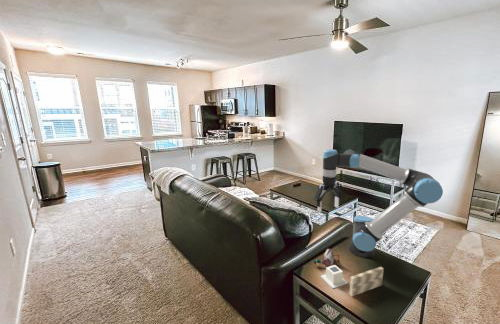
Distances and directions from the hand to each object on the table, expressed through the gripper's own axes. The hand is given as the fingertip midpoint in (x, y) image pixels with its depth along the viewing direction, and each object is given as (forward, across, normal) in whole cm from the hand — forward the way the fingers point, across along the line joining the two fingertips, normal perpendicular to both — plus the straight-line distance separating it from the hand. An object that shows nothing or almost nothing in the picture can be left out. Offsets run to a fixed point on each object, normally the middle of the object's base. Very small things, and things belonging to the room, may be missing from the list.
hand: (328, 209), depth 143 cm
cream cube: (+30, +13, +19) cm, 38 cm away
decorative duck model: (+31, +6, +6) cm, 32 cm away
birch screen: (+31, +3, +32) cm, 45 cm away
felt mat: (+31, +12, +19) cm, 39 cm away
